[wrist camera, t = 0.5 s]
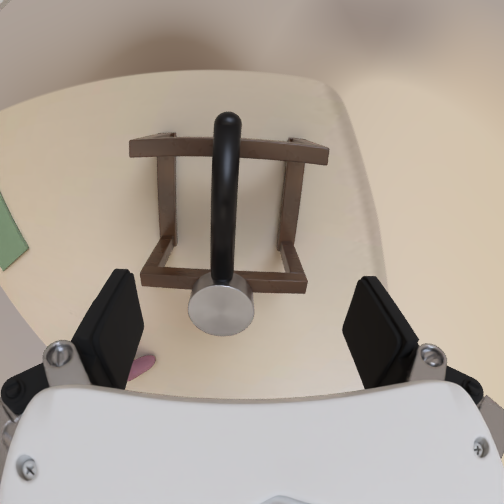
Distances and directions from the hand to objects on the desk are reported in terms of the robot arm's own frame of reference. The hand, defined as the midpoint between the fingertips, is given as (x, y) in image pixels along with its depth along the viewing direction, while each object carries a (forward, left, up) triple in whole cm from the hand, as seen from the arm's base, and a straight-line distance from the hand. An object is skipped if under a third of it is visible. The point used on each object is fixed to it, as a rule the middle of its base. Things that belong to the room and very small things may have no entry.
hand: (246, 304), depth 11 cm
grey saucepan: (+1, -1, -8) cm, 9 cm away
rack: (0, -1, -17) cm, 17 cm away
